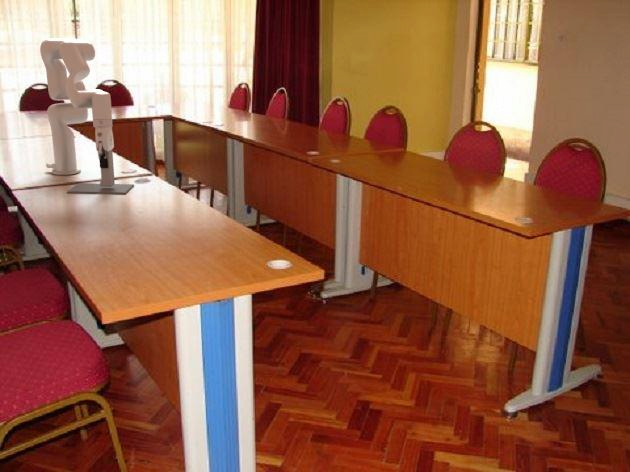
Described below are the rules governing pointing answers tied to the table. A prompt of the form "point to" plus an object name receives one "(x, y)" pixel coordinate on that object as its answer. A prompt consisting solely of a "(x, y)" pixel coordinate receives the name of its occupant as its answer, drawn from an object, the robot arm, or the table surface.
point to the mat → (100, 188)
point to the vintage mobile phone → (108, 172)
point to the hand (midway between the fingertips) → (105, 166)
